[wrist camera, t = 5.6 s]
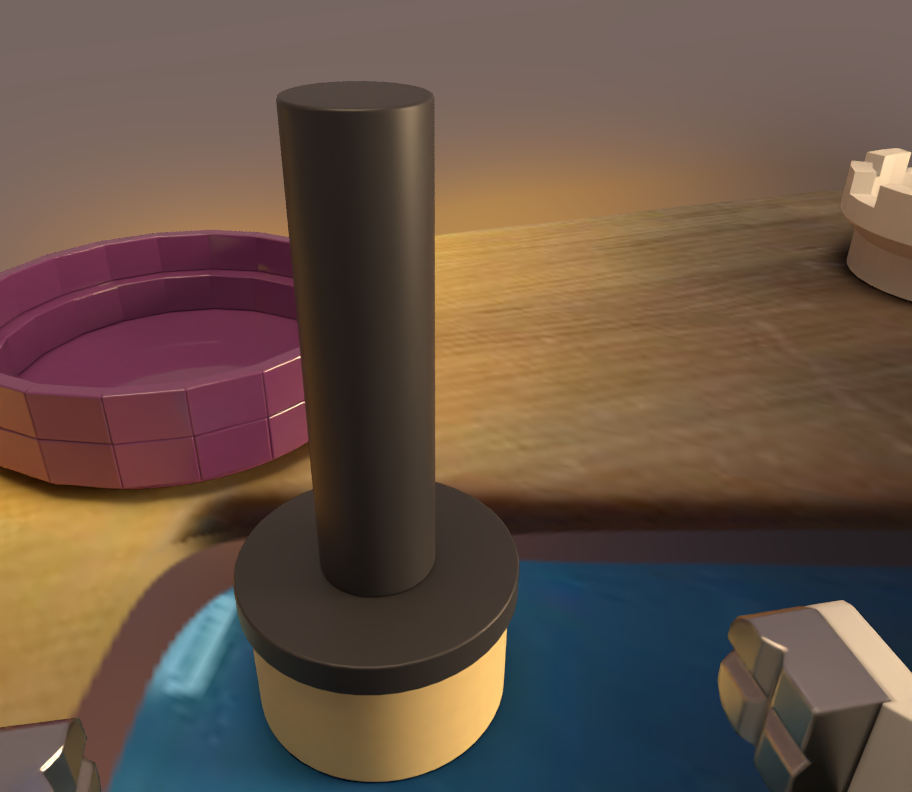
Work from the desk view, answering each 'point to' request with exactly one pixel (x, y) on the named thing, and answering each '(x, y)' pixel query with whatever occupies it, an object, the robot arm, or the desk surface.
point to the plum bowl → (151, 360)
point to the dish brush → (371, 468)
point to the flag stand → (881, 220)
